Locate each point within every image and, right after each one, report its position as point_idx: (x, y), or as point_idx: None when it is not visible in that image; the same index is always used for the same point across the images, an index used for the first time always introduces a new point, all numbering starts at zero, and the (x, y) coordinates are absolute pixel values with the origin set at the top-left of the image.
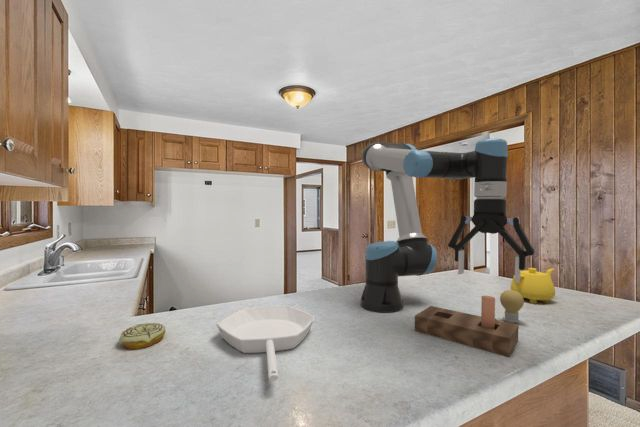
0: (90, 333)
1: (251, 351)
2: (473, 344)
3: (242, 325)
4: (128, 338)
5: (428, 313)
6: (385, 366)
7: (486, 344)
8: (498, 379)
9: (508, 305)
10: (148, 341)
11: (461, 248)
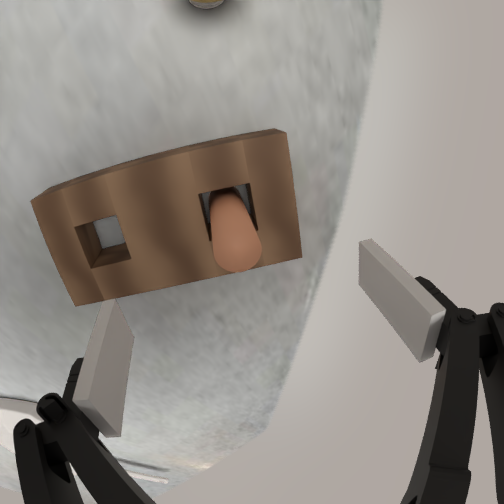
0: (18, 479)
1: None
2: None
3: (12, 433)
4: None
5: (76, 266)
6: (176, 404)
7: None
8: (300, 326)
9: (209, 2)
10: None
11: (62, 401)
